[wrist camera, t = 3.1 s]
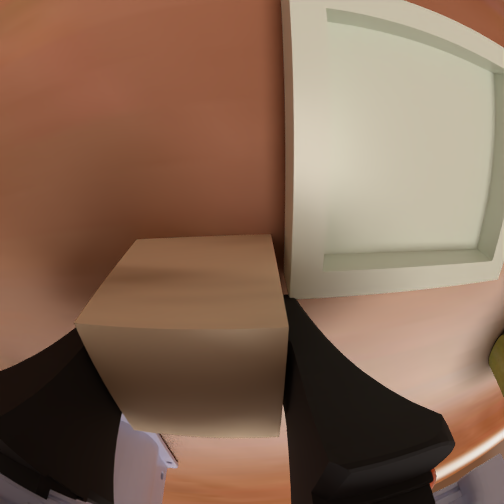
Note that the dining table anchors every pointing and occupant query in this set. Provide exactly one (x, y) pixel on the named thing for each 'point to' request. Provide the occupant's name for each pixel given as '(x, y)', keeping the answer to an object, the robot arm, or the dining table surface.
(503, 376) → the plant pot
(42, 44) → the dining table surface
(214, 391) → the maple block
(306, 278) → the tray
